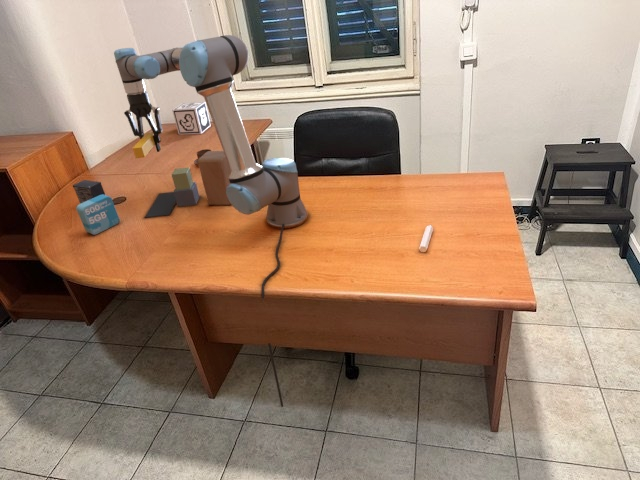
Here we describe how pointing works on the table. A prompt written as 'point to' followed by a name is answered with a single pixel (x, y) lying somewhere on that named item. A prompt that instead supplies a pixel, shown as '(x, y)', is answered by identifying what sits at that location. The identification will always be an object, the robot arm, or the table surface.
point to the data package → (98, 214)
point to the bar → (144, 145)
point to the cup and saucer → (199, 154)
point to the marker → (426, 238)
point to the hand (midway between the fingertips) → (153, 151)
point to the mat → (162, 205)
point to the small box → (88, 190)
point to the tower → (185, 187)
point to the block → (215, 177)
